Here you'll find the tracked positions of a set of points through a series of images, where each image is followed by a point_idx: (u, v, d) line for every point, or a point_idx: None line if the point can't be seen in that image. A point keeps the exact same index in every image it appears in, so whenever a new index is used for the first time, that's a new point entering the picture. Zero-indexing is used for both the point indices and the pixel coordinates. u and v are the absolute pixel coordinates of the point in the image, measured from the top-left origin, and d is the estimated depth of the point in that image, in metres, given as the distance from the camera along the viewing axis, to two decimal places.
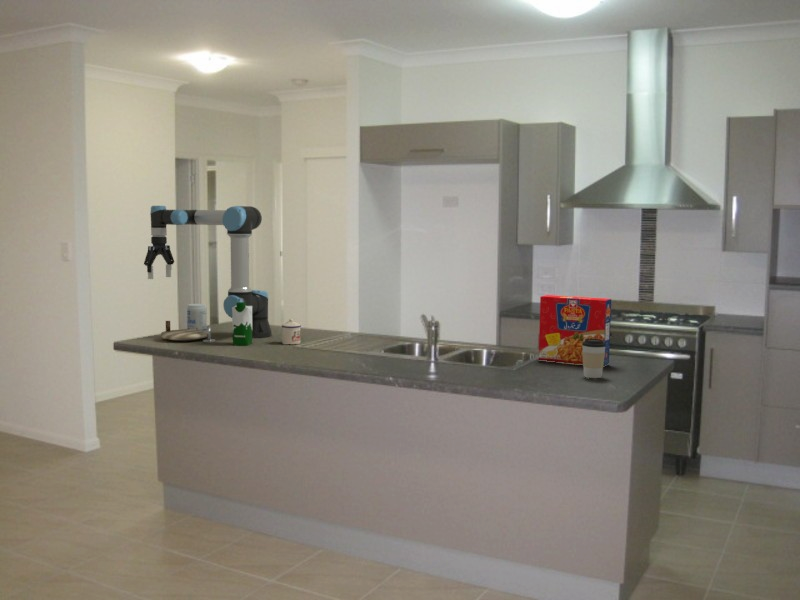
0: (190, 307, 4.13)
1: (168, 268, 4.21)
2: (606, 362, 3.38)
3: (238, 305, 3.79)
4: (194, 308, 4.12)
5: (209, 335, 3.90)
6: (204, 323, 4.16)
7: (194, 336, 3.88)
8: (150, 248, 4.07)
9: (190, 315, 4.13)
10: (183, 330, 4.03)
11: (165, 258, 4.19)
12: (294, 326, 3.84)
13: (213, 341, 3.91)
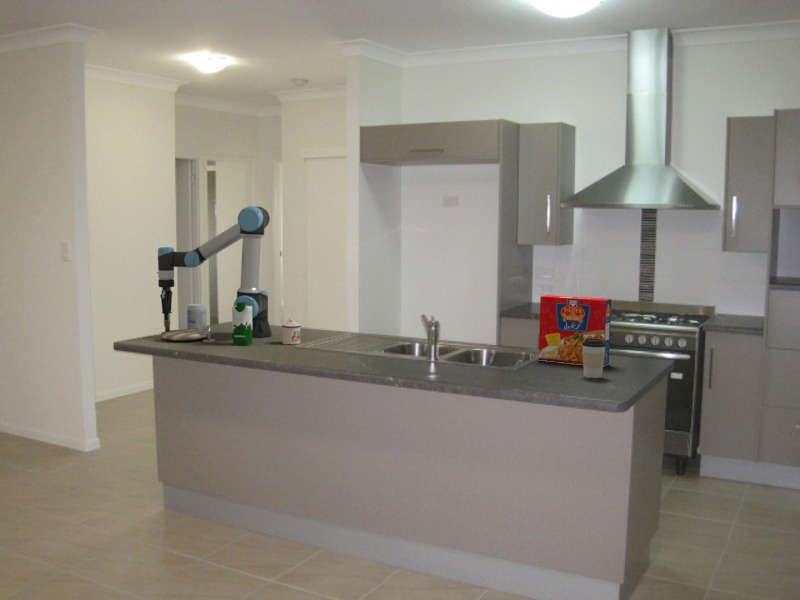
0: (190, 307, 4.13)
1: None
2: (606, 362, 3.38)
3: (238, 305, 3.79)
4: (194, 308, 4.12)
5: (209, 335, 3.90)
6: (204, 323, 4.16)
7: (195, 336, 3.88)
8: (164, 297, 3.94)
9: (190, 315, 4.13)
10: (182, 330, 4.03)
11: None
12: (294, 326, 3.84)
13: (213, 341, 3.91)
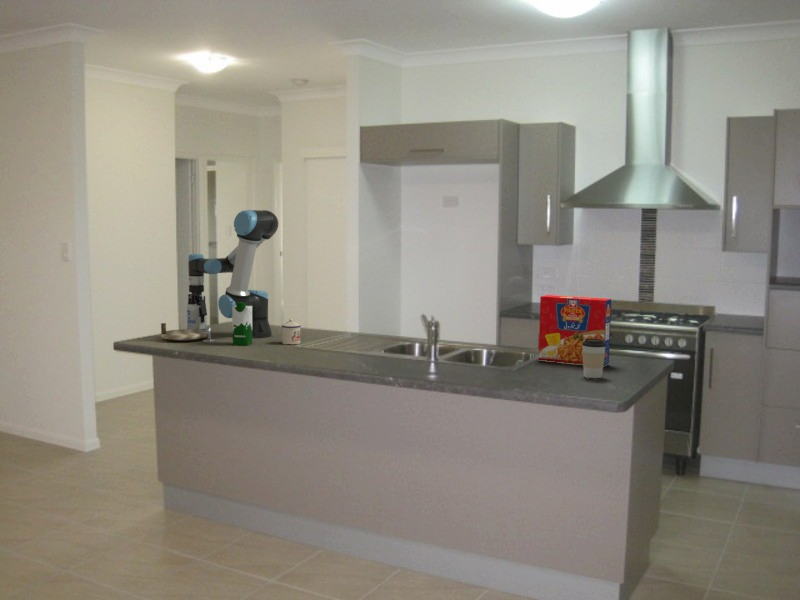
0: (190, 307, 4.13)
1: None
2: (606, 362, 3.38)
3: (238, 305, 3.79)
4: (194, 308, 4.12)
5: (209, 335, 3.90)
6: None
7: None
8: (203, 298, 4.12)
9: (190, 315, 4.13)
10: (172, 331, 3.99)
11: None
12: (294, 326, 3.84)
13: (213, 341, 3.91)
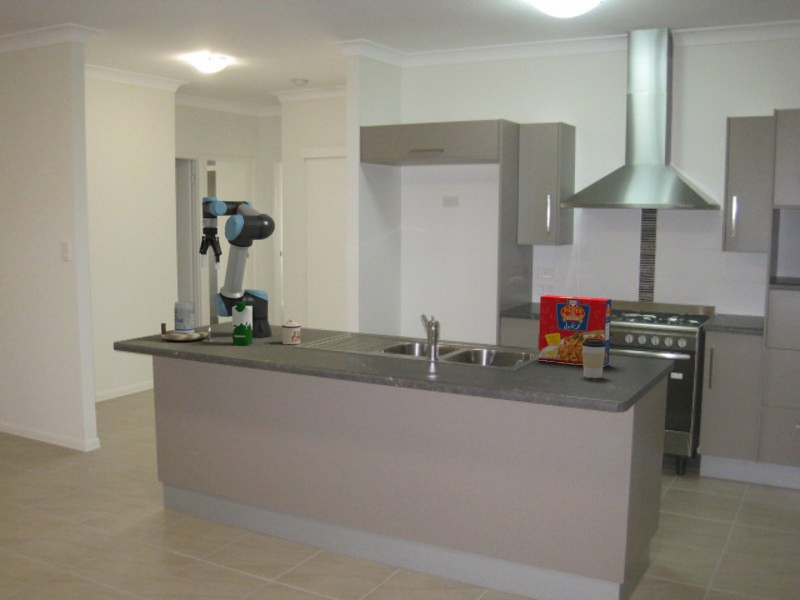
0: (177, 305, 3.91)
1: (205, 258, 4.30)
2: (606, 362, 3.38)
3: (238, 305, 3.79)
4: (181, 306, 3.90)
5: (209, 335, 3.90)
6: (192, 322, 3.94)
7: None
8: (217, 238, 4.19)
9: (177, 314, 3.91)
10: (172, 331, 3.99)
11: (205, 248, 4.28)
12: (294, 326, 3.84)
13: (213, 341, 3.91)
